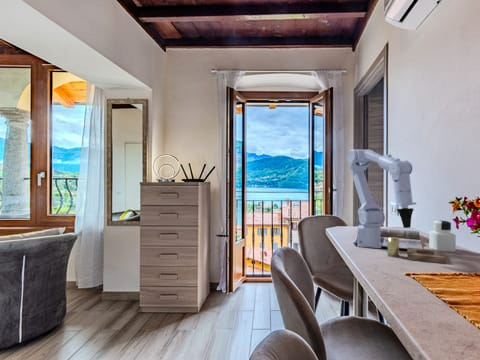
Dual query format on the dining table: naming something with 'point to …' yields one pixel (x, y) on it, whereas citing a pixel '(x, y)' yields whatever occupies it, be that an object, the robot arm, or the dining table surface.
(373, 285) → the dining table surface
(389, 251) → the brass peg
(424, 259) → the square tan frame
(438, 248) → the medicine bottle
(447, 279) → the dining table surface
